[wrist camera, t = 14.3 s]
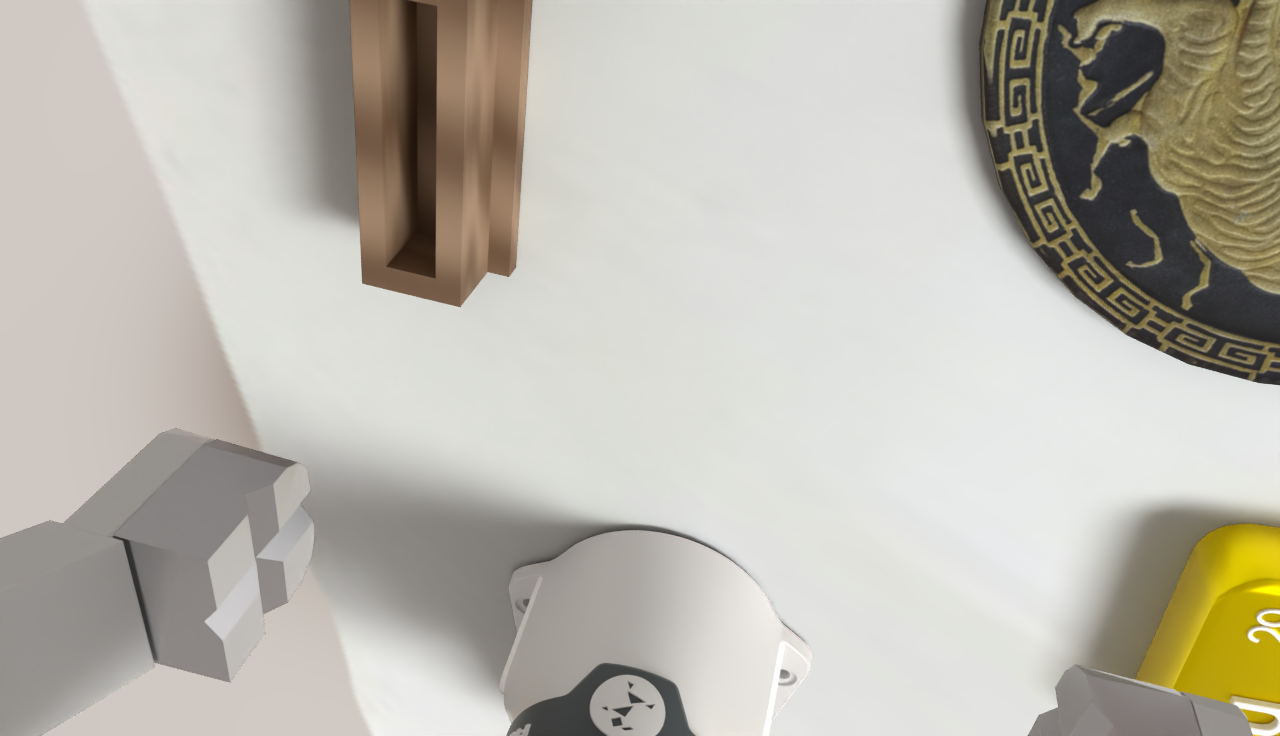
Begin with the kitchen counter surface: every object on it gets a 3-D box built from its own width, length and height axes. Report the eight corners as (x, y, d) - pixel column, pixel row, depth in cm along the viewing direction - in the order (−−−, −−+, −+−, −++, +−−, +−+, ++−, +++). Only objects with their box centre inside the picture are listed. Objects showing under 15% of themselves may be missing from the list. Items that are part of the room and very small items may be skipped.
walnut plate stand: (515, 267, 47) (483, 312, 44) (383, 236, 48) (340, 278, 45) (534, -40, 39) (496, -16, 35) (374, -71, 40) (320, -51, 36)
